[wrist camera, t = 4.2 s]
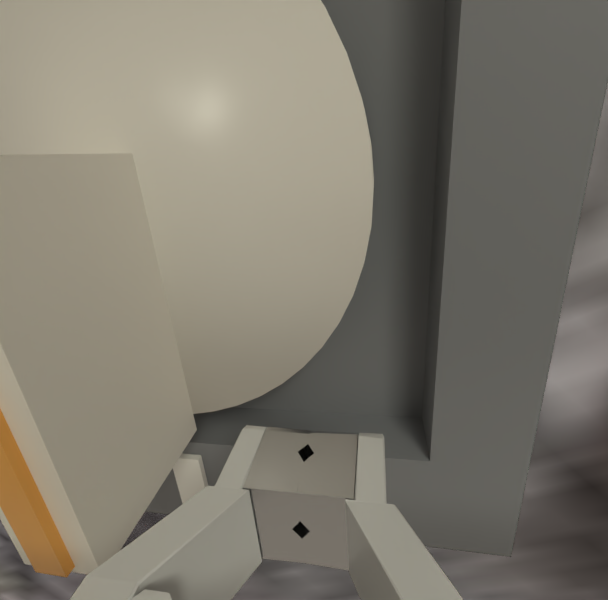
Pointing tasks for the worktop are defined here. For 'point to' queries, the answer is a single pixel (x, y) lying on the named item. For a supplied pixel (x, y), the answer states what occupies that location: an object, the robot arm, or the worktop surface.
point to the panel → (448, 258)
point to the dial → (160, 241)
